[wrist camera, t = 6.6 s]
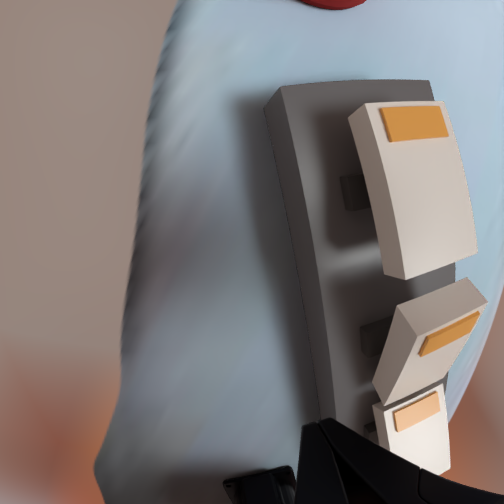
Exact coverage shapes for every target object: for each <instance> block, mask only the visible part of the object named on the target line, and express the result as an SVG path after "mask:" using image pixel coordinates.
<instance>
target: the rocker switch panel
mask: <svg viewBox="0 0 504 504" xmlns="http://www.w3.org/2000/svg"><path fill="white" fill-rule="evenodd" d="M402 101H434V97H433V93H432V89H431V86H430V82H429V80H350V81H333V82H320V83H308V84H299V85H290V86H282V87H280V88H279V89H278V90H277V91H276V93H275V94H274V95H273V96H272V98H271V99H270V100H269V102H268V103H267V104H266V105H265V107H264V112H265V117H266V121H267V125H268V130H269V134H270V138H271V143H272V147H273V152H274V156H275V161H276V166H277V170H278V175H279V180H280V184H281V189H282V194H283V199H284V204H285V209H286V213H287V218H288V224H289V229H290V234H291V239H292V244H293V249H294V255H295V260H296V265H297V271H298V276H299V282H300V288H301V293H302V299H303V305H304V311H305V316H306V322H307V328H308V335H309V341H310V347H311V353H312V360H313V366H314V373H315V380H316V387H317V394H318V401H319V408H320V415H321V420H322V419H325V418H328V417H331V418H333V419H335V420H337V421H338V422H340V423H342V424H343V425H345V426H347V427H348V428H350V429H352V430H353V431H355V432H357V433H359V434H360V435H362V436H364V437H365V438H367V439H369V440H371V441H373V442H374V443H376V444H378V445H379V439H378V434H377V428H376V423H375V417H374V412H373V407H372V405H374V404H376V403H378V402H381V399H380V397H379V395H378V393H377V391H376V389H375V387H374V385H373V383H372V380H373V378H374V375H375V372H376V369H377V367H378V364H379V361H380V358H381V355H382V352H383V349H384V346H385V343H386V340H387V337H388V333H389V330H390V327H391V324H392V320H393V317H394V313H395V310H396V306H397V305H399V304H402V303H404V302H407V301H410V300H412V299H415V298H418V297H420V296H423V295H425V294H428V293H430V292H433V291H435V290H438V289H440V288H443V287H445V286H447V285H450V284H452V283H455V262H454V263H451V264H448V265H446V266H443V267H440V268H438V269H435V270H432V271H430V272H427V273H424V274H421V275H419V276H416V277H413V278H410V279H407V280H403V279H400V278H396V277H392V276H388V275H384V271H383V265H382V259H381V253H380V248H379V242H378V237H377V232H376V227H375V222H374V217H373V212H372V208H371V203H370V199H369V195H368V190H367V186H366V182H365V178H364V174H363V170H362V166H361V162H360V159H359V155H358V151H357V148H356V144H355V140H354V137H353V134H352V130H351V127H350V124H349V120H348V117H349V116H350V115H351V114H353V113H354V112H355V111H356V110H357V109H359V108H360V107H361V106H362V105H363V104H364V103H378V102H402ZM448 371H449V370H448ZM447 378H448V372H447V373H446V375H445V376H444V378H442V379H440V380H438V381H436V382H439V383H443V388H444V396H445V391H446V384H447Z"/></svg>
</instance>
